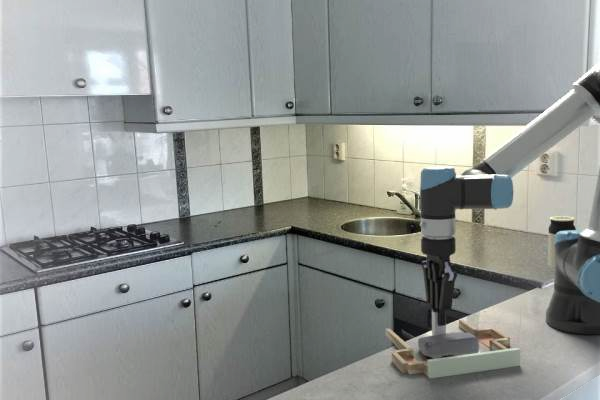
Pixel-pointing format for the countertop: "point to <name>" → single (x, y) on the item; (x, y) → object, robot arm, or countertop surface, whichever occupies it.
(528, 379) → the countertop surface
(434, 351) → the stone block
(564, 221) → the travel mug
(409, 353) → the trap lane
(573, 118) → the robot arm
